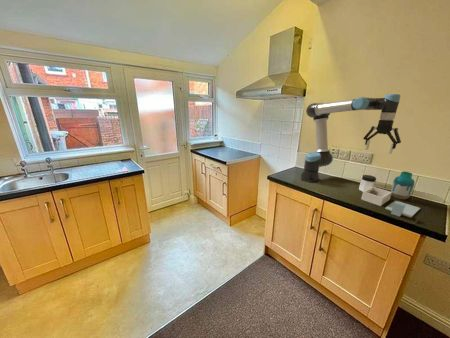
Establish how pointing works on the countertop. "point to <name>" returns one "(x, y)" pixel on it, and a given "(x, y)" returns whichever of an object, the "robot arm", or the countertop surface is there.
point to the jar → (367, 182)
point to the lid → (402, 209)
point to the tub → (376, 196)
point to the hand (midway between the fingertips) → (377, 151)
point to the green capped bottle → (402, 186)
